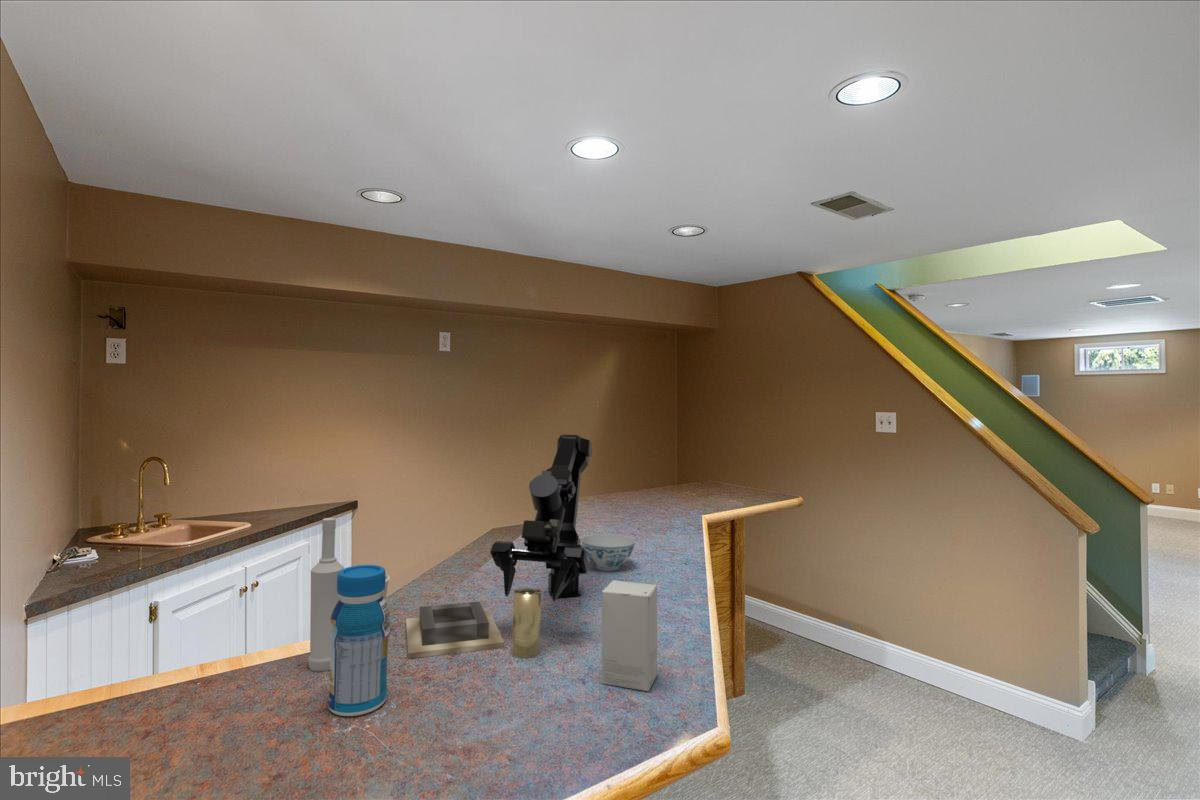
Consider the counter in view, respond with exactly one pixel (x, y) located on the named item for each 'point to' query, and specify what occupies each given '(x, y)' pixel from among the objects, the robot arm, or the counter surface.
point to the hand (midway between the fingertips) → (529, 597)
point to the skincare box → (629, 635)
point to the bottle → (323, 599)
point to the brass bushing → (526, 622)
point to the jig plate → (450, 646)
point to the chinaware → (608, 550)
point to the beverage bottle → (359, 642)
